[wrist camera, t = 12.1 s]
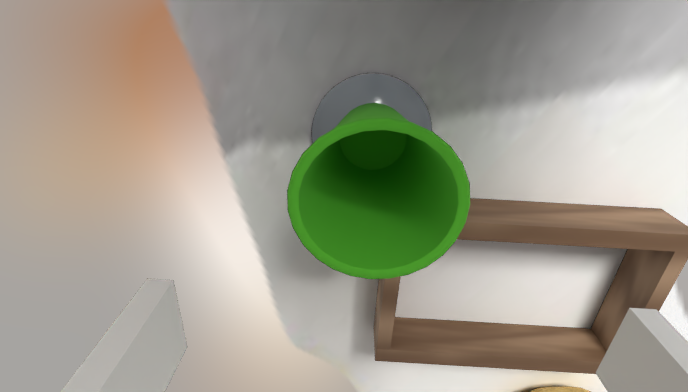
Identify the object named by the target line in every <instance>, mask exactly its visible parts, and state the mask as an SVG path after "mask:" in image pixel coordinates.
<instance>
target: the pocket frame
mask: <svg viewBox="0 0 688 392" xmlns="http://www.w3.org/2000/svg"><path fill="white" fill-rule="evenodd" d="M457 239H462V240H480V241H498V242H515V243H533V244H551V245H568V246H586V247H604V248H621V249H628V250H627V252H626V254H625V256H624V258H623V260H622V262H621V265H620V267H619V269H618V271H617V273H616V275H615V278H614V280H613V282H612V284H611V286H610V288H609V291H608V293H607V295H606V297H605V299H604V301H603V303H602V306H601V308H600V310H599V312H598V314H597V316H596V319H595V321H594V323H593V325H592V327H591V329H586V328H569V327H552V326H535V325H518V324H501V323H484V322H467V321H450V320H433V319H416V318H398V317H395V311H396V304H397V297H398V290H399V283H400V276H399V277H395V278H390V279H379V282H378V292H377V301H376V310H375V319H374V347H375V361H388V362H405V363H422V364H439V365H455V366H472V367H489V368H506V369H522V370H539V371H556V372H572V373H589V374H596V371H597V369H598V367H599V365H600V363H601V361H602V359H603V358H604V356H605V354H606V352H607V350H608V348H609V346H610V344H611V342H612V340H613V338H614V336H615V335H616V333H617V331H618V329H619V327H620V325H621V323H622V321H623V319H624V317H625V315H626V313H627V312H628V310H629V308H642V309H657V310H658V311H659V310H660V308H661V306H662V304H663V303H664V301H665V299H666V297H667V295H668V294H669V292H670V290H671V288H672V286H673V285H674V283H675V281H676V279H677V277H678V276H679V274H680V272H681V270H682V269H683V267H684V265H685V263H686V261H687V260H688V226H686V225H685V224H683V223H682V222H680V221H679V220H677V219H676V218H674V217H673V216H671V215H670V214H668V213H667V212H665V211H664V210H662V209H654V208H636V207H618V206H600V205H582V204H564V203H546V202H528V201H510V200H492V199H474V198H470V207H469V211H468V215H467V219H466V223H465V225H464V227H463V228H462V230H461V232H460V234H459V236H458V238H457Z"/></svg>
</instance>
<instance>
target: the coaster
mask: <svg viewBox="0 0 688 392" xmlns="http://www.w3.org/2000/svg"><path fill="white" fill-rule="evenodd" d="M367 103H379V104H385V105H387V106H389V107H391V108H393V109H395V110H396V111H397V112H398V113H400V114H401V115H402V116H403V117H404V118H406V119H407V120H408V121H409V122H412V123H415V124H417V125H419V126H421V127H423V128H426V129H428V130H430V131H432V124H431V119H430V115H429V112H428V109H427V107H426V105H425V103H424V102H423V100H422V99H421V97H420V96H419V94H418V93H417V92H416V91H415V90H414V89H413V88H412V87H411V86H409V85H408V84H407V83H405V82H404V81H402V80H400V79H398V78H396V77H393V76H390V75H386V74H380V73H366V74H359V75H356V76H352V77H350V78H348V79H345V80H344V81H342V82H340V83H339V84H337V85H336V86H335V87H333V88H332V89H331V90H330V91H329V92H328V93H327V94H326V95H325V97H324V98H323V100H322V101H321V103H320V105H319V106H318V108H317V111H316V114H315V116H314V120H313V125H312V142H313V143H314V142H315V141H316V140H317V139H318V138H319V137H321V136H322V135H324V134H326V133H328V132H329V131H331V130H333V129H334V128H335V127H336V126H337V125H338V124H339V122H340V121H341V120H342V119H343V118H344V117H345V116H346V115H347V114H348V113H349V112H350V111H351V110H353V109H354V108H356V107H358V106H360V105H363V104H367Z"/></svg>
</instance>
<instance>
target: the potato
mask: <svg viewBox="0 0 688 392" xmlns="http://www.w3.org/2000/svg"><path fill="white" fill-rule="evenodd" d="M530 392H590V391H588V390H585V389H582V388H578V387H543V388H537V389H534V390H532V391H530Z"/></svg>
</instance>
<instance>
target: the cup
mask: <svg viewBox="0 0 688 392" xmlns="http://www.w3.org/2000/svg"><path fill="white" fill-rule="evenodd" d="M287 200H288V213H289V216H290V219H291V223H292V226H293V229H294V230H295V232H296V234H297V235H298V237H299V239H300V240H301V242H302V244H303V245H304V246H305V247H306V248H307V249H308V250H309V251H310V252H311V253H312V254H313V255H314V256H315V257H316V258H317V259H318V260H319V261H321V262H323V263H324V264H326V265H327V266H329V267H330V268H332V269H334V270H337V271H339V272H342V273H345V274H347V275H350V276H355V277H361V278H367V279H390V278H395V277H399V276H404V275H409V274H411V273H413V272H416V271H418V270H420V269H423V268H425V267H427V266H428V265H430V264H431V263H433V262H434V261H436V260H437V259H438V258H440V257H441V256H443V255H444V253H445V252H446V251H447V250H448V249H449V248H450V247H451V246H452V245H453V244H454V242H455V241H456V239H457V238H458V236H459V234H460V232H461V230H462V228H463V227H464V225H465V223H466V219H467V215H468V211H469V207H470V184H469V180H468V178H467V175H466V172H465V169H464V166H463V163H462V162H461V161H460V159H459V158H458V156H457V155H456V153H455V152H454V151H453V149H452V148H451V146H450V145H448V144H447V143H446V142H445V141H443V140H442V139H441V138H440V137H439V136H437V135H436V134H435V133H434V132H432V131H430V130H428V129H426V128H423V127H421V126H419V125H417V124H415V123H412V122H409V121H408V120H407V119H406V118H404V117H403V116H402V115H401V114H400V113H398V112H397V111H396V110H395V109H393V108H391V107H389V106H387V105H385V104H379V103H367V104H363V105H360V106H358V107H356V108H354V109H353V110H351V111H350V112H349V113H348V114H347V115H346V116H345V117H344V118H343V119H342V120H341V121H340V122H339V124H338V125H337V126H336V127H335V128H334V129H333V130H331V131H329V132H328V133H326V134H324V135H322V136H321V137H319V138H318V139H317V140H316V141H315V142H314V143H313V144H312V145H311V146H310V147H309V148H308V149H307V150H306V151H305V152H304V153H303V154H302V156H301V158H300V159H299V161H298V163H297V164H296V166H295V168H294V170H293V171H292V175H291V179H290V182H289V186H288V190H287Z"/></svg>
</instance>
